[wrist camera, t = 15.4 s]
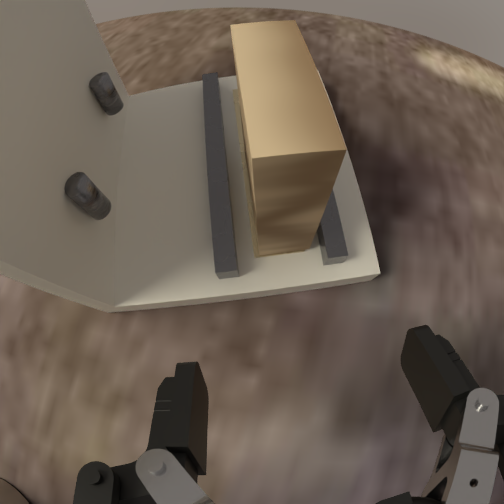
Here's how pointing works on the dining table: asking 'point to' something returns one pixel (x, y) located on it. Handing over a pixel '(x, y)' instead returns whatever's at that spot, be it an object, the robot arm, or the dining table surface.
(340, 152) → the wooden block
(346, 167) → the l-shaped angle bracket
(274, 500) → the dining table surface
